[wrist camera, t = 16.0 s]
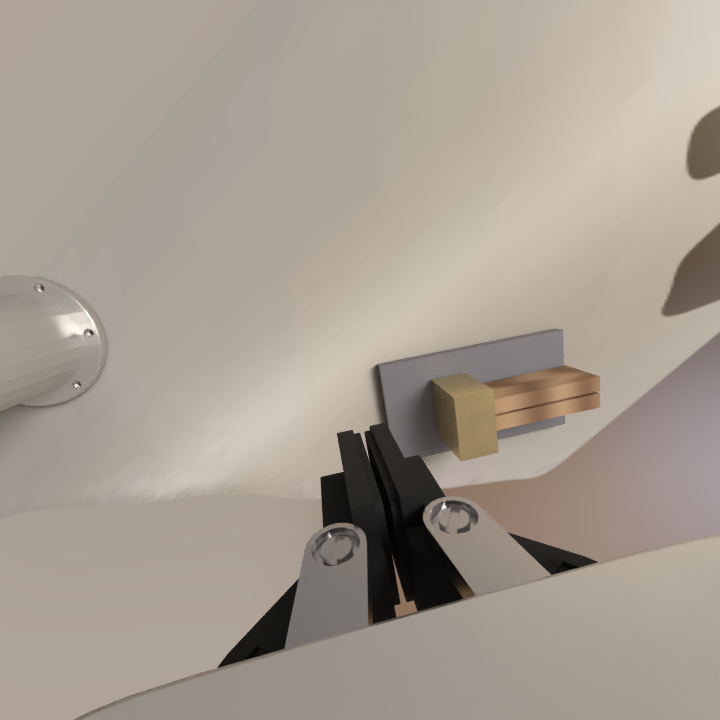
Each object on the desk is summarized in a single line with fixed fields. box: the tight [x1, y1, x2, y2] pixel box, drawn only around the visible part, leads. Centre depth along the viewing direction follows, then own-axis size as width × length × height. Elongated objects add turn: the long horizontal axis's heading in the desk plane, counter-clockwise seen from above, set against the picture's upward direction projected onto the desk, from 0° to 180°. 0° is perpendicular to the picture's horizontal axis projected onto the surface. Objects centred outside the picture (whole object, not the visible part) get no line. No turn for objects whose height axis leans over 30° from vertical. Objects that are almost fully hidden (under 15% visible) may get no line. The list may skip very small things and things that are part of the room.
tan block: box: [432, 373, 498, 461], centre depth 37 cm, size 4×7×6 cm, turn 10°
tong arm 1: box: [483, 365, 600, 414], centre depth 38 cm, size 15×2×5 cm, turn 100°
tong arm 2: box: [495, 392, 600, 431], centre depth 38 cm, size 15×2×5 cm, turn 100°
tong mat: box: [378, 329, 565, 458], centre depth 41 cm, size 22×12×1 cm, turn 100°
